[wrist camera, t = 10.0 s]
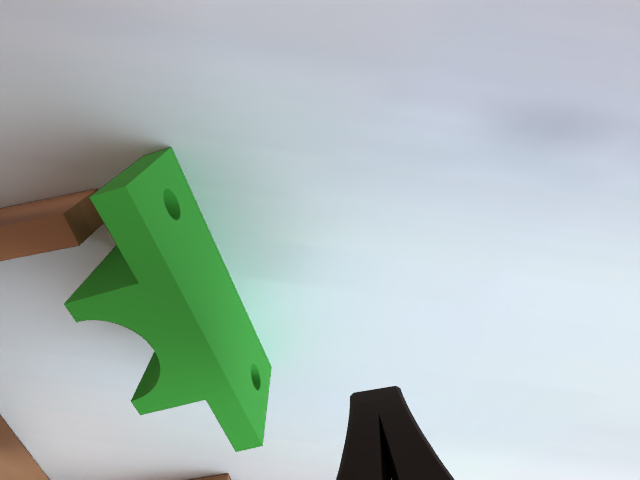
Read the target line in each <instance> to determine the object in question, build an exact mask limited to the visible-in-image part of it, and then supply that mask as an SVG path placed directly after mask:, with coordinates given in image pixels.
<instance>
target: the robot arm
mask: <svg viewBox="0 0 640 480" xmlns="http://www.w3.org/2000/svg"><path fill="white" fill-rule="evenodd" d="M391 478H392V480H454V478H453V477H452V476H451V474H450V473H449V472H448V470H447V469H446V467H445V466H444V465H443V463H442V462H441V460H440V459H439V457H438V456H437V454H436V453H435V451H434V450H433V448H432V447H431V445H430V444H429V442H428V441H427V439H426V438H425V436H424V434H423V433H422V431H421V429H420V428H419V426H418V424H417V422H416V421H415V419H414V417H413V415H412V414H411V412H410V410H409V408H408V406H407V404H406V401H405V399H404V397H403V394H402V392H401V389H400V388H399V387H397V386H392V387H386V388H380V389H374V390H368V391H362V392H356V393H353V394H352V395H351V396H350V413H349V421H348V428H347V434H346V440H345V445H344V449H343V454H342V459H341V463H340V467H339V471H338V475H337V479H336V480H391Z"/></svg>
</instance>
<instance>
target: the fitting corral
mask: <svg viewBox="0 0 640 480" xmlns="http://www.w3.org/2000/svg"><path fill="white" fill-rule="evenodd" d="M97 191H98V190H97V189H92V190H87V191H83V192H78V193H73V194H68V195H63V196H58V197H53V198H49V199H44V200H39V201H34V202H29V203H24V204H19V205H15V206H10V207H5V208H0V261H3V260H9V259H14V258H19V257H24V256H29V255H34V254H39V253H44V252H49V251H54V250H59V249H64V248H69V247H75V246H79V245H80V244H81V243H83V242H84V241H85V240H86V239H87V238H88V237H89V236H90V235H91V234H92V233H93V232H94V231H95V230H96V229H97V228H99V227H100V226H101V225H102V224H103V223H104V222H103V220H102V218H101V217H100V215H99V213H98V211H97V210H96V208H95V206H94V204H93V203H92V201H91V199H90V196H92V195H93V194H94V193H96V192H97ZM0 480H49V479H48V477H47V476H46V475H45V473H44V472H43V471H42V469H41V468H40V467H39V465H38V464H37V463H36V461H35V460H34V459H33V457H32V456H31V455H30V454H29V452H28V451H27V450H26V448H25V447H24V446H23V444H22V443H21V442H20V440H19V439H18V438H17V436H16V435H15V434H14V432H13V431H12V430H11V428H10V427H9V426H8V425H7V423H6V422H5V421H4V419H3V418H2V417H1V415H0ZM191 480H231V479H230V476H229V474H224V475H217V476H211V477H204V478H198V479H191Z"/></svg>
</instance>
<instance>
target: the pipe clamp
mask: <svg viewBox="0 0 640 480" xmlns="http://www.w3.org/2000/svg"><path fill="white" fill-rule="evenodd" d="M90 199H91V201H92V203H93V204H94V206H95V208H96V210H97V211H98V213H99V215H100V217H101V218H102V220H103V222H104V224H105V225H106V227H107V229H108V230H109V232H110V234H111V236H112V237H113V239H114V241H115V243H116V244H117V245H116V246H115V247H114V249H113V250H112V251H111V252H110V253H109V254H108V255H107V256H106V257H105V259H104V260H103V261H102V262H101V263H100V264H99V265H98V266H97V268H96V269H95V270H94V271H93V272H92V273H91V274H90V275H89V277H88V278H87V279H86V280H85V281H84V282H83V283H82V284H81V285H80V287H79V288H78V289H77V290H76V291H75V292H74V293H73V294H72V296H71V297H70V298H69V299H68V300H67V301H66V302H65V303H64V305H65V306H66V308H67V309H68V311H69V312H70V313H71V315H72V316H73V318H74V319H75V321H76V322H79V321H85V320H102V321H108V322H112V323H116V324H119V325H122V326H124V327H127V328H129V329H131V330H132V331H134V332H136V333H137V334H139V335H140V336H141V337H143V338H144V339H145V340H146V341H147V342H148V343H149V344H150V345H151V347H152V348H153V349H154V351H155V352H154V354H153V356H152V358H151V360H150V362H149V364H148V367H147V369H146V371H145V373H144V375H143V377H142V379H141V381H140V383H139V385H138V387H137V389H136V392H135V394H134V396H133V398H132V400H131V402H132V404H133V405H134V407H135V408H136V410H137V411H138V412H139V414H140V415H143V414H147V413H151V412H156V411H160V410H164V409H168V408H172V407H177V406H181V405H185V404H189V403H193V402H198V401H202V400H206V401H207V403H208V404H209V406H210V408H211V410H212V411H213V413H214V415H215V416H216V418H217V420H218V422H219V423H220V425H221V427H222V429H223V430H224V432H225V434H226V436H227V437H228V439H229V441H230V443H231V444H232V446H233V448H234V450H235V451H236V452H237V451H242V450H246V449H251V448H255V447H260V446H263V438H264V429H265V420H266V411H267V402H268V393H269V384H270V376H271V365H270V363H269V361H268V358H267V356H266V354H265V352H264V350H263V347H262V345H261V343H260V341H259V339H258V336H257V334H256V332H255V330H254V328H253V325H252V323H251V321H250V319H249V317H248V314H247V312H246V310H245V308H244V306H243V303H242V301H241V299H240V297H239V295H238V292H237V290H236V288H235V286H234V284H233V281H232V279H231V277H230V275H229V273H228V270H227V268H226V266H225V264H224V262H223V260H222V257H221V255H220V253H219V251H218V249H217V246H216V244H215V242H214V240H213V238H212V235H211V233H210V231H209V229H208V227H207V224H206V222H205V220H204V218H203V216H202V213H201V211H200V209H199V207H198V205H197V202H196V200H195V198H194V196H193V194H192V191H191V189H190V187H189V185H188V183H187V180H186V178H185V176H184V174H183V172H182V169H181V167H180V165H179V163H178V161H177V158H176V156H175V154H174V152H173V150H172V147H170V148H167V149H164V150H161V151H157V152H154V153H151V154H148V155H144V156H143V157H141V158H140V159H139V160H137V161H136V162H135V163H134V164H132V165H131V166H130V167H128V168H127V169H126V170H124V171H123V172H122V173H120V174H119V175H118V176H117V177H115V178H114V179H113V180H111V181H110V182H109V183H107V184H106V185H105V186H103V187H102V188H101V189H99V190H98V191H97V192H96V193H94V194H93V195H92V196H90Z"/></svg>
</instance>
